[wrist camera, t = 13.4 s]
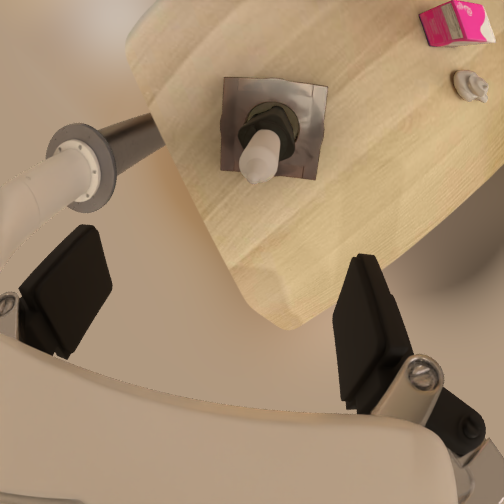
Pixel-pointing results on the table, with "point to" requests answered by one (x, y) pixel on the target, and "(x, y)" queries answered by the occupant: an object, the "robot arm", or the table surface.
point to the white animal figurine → (470, 86)
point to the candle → (265, 144)
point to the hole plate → (282, 91)
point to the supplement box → (457, 25)
